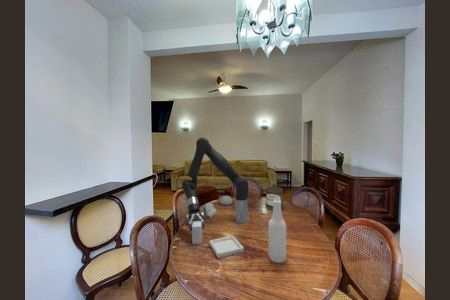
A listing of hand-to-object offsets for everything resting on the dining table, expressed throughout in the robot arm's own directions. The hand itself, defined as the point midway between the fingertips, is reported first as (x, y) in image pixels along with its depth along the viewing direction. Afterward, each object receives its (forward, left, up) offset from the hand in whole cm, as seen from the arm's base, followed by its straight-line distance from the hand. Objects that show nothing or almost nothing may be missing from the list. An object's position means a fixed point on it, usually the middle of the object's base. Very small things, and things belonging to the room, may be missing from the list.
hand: (197, 229), depth 119 cm
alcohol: (-34, +34, -7) cm, 49 cm away
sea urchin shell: (-43, -61, -7) cm, 74 cm away
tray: (-13, +15, -7) cm, 21 cm away
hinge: (-19, -40, -7) cm, 45 cm away
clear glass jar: (-79, -31, -7) cm, 85 cm away
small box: (0, 0, -7) cm, 7 cm away
